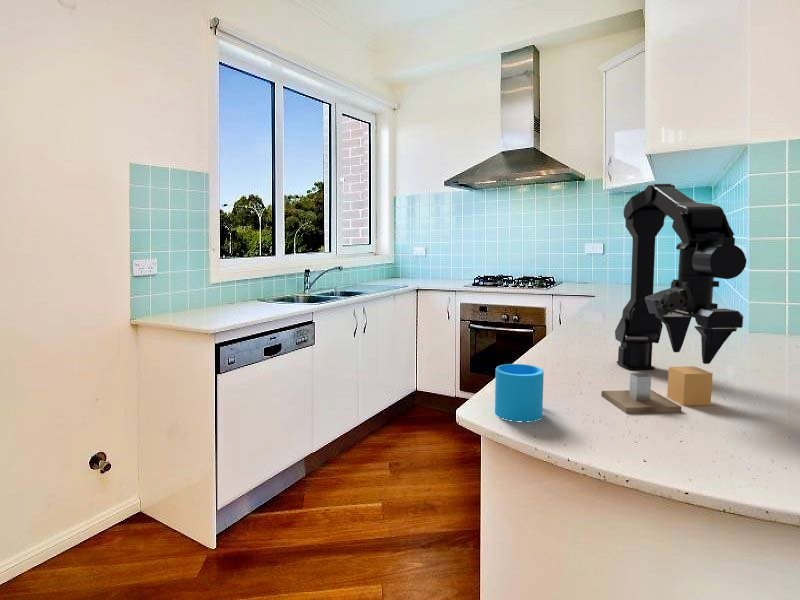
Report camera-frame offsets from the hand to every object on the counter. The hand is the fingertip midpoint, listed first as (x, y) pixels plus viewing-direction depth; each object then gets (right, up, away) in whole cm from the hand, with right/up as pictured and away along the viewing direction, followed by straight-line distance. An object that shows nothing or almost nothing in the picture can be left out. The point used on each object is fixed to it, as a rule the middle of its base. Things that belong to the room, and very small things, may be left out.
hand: (690, 357), depth 95 cm
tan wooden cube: (0, -8, +1) cm, 8 cm away
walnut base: (-10, -9, 0) cm, 13 cm away
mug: (-33, -9, -4) cm, 34 cm away
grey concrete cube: (-10, -9, 0) cm, 13 cm away
